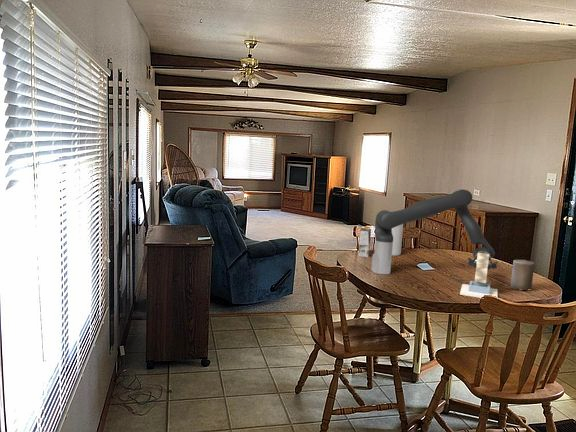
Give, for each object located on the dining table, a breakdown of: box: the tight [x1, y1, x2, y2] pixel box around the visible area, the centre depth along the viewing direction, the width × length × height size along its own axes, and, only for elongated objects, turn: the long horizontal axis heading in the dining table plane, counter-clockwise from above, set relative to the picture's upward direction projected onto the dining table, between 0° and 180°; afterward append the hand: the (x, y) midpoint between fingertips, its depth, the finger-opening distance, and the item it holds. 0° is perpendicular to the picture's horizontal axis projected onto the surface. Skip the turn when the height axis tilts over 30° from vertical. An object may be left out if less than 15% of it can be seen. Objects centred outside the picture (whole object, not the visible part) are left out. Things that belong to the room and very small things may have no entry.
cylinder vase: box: [392, 224, 404, 257], centre depth 303 cm, size 12×12×25 cm
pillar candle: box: [509, 259, 535, 291], centre depth 239 cm, size 10×10×15 cm
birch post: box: [474, 253, 489, 283], centre depth 226 cm, size 5×5×13 cm
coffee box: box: [358, 228, 372, 258], centre depth 295 cm, size 9×6×16 cm
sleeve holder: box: [459, 280, 498, 299], centre depth 227 cm, size 16×16×4 cm
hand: (482, 266), depth 223 cm, fingers closed on birch post, 5 cm apart
